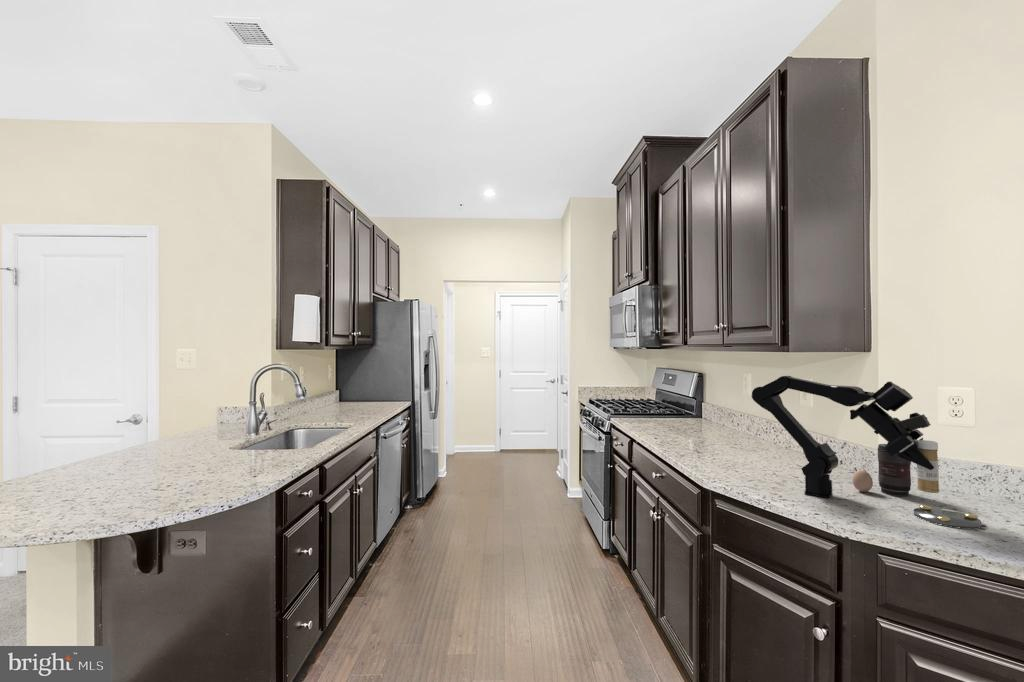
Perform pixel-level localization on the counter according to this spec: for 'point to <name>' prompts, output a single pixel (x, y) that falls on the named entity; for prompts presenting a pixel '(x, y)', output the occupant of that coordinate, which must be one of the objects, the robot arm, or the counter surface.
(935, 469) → the sprinkles bottle
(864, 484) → the egg
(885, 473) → the camera lens
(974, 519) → the tribrach plate
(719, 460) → the counter surface
